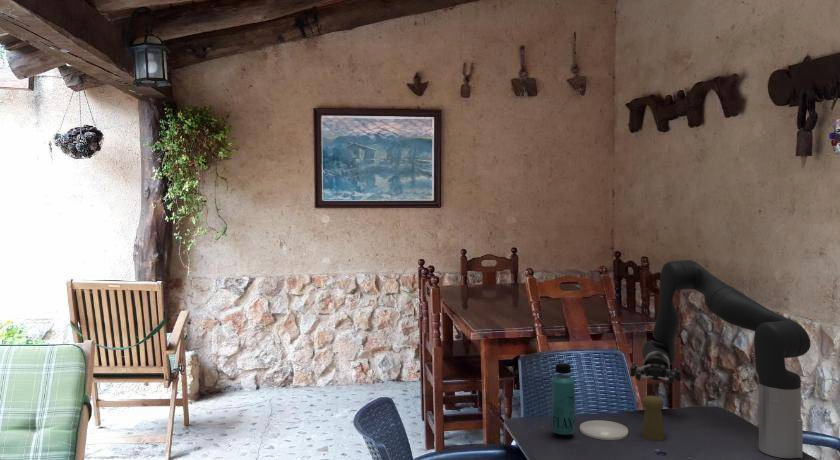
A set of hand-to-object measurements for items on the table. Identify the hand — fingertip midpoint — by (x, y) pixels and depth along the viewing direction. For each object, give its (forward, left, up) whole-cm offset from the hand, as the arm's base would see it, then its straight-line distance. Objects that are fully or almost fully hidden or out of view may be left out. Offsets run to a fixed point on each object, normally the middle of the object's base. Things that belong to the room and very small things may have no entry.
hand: (654, 378), depth 178 cm
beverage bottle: (+23, +21, -13) cm, 33 cm away
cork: (0, +12, -13) cm, 18 cm away
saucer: (+13, +13, -13) cm, 23 cm away
